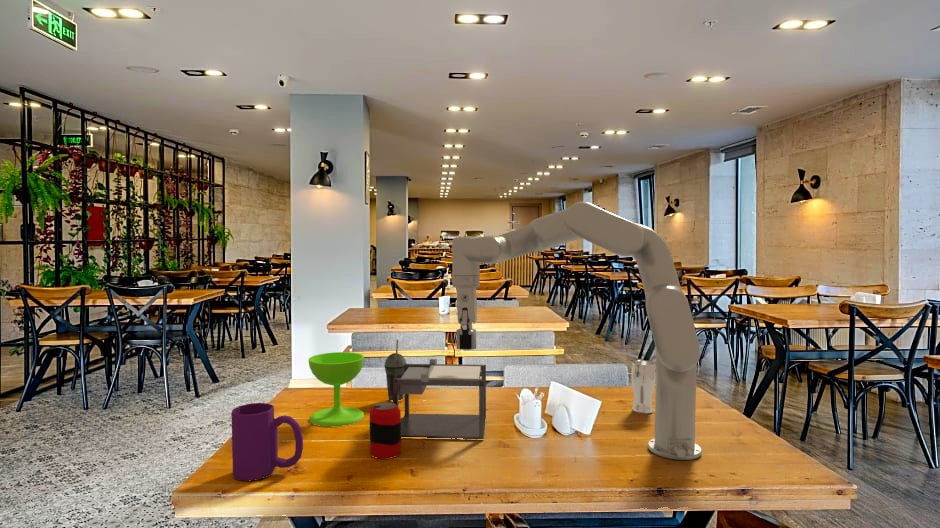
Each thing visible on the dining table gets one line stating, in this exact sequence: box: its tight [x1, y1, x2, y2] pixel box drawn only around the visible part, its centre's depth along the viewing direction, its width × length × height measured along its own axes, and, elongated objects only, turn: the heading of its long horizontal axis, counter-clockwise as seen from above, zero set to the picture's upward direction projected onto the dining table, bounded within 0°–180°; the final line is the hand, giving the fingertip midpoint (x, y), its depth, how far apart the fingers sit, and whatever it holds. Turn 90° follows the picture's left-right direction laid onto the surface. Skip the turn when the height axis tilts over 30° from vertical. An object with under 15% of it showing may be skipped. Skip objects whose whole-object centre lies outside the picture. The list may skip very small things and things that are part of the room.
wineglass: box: [308, 351, 365, 427], centre depth 165 cm, size 16×16×18 cm
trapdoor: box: [400, 364, 481, 395], centre depth 155 cm, size 15×21×5 cm
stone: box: [456, 328, 477, 351], centre depth 154 cm, size 6×6×5 cm
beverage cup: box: [383, 339, 407, 401], centre depth 182 cm, size 7×7×20 cm
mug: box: [230, 402, 304, 482], centre depth 126 cm, size 9×16×15 cm, turn 94°
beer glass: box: [630, 359, 656, 415], centre depth 171 cm, size 7×7×15 cm
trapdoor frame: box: [392, 358, 487, 440], centre depth 156 cm, size 18×24×18 cm
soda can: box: [369, 402, 402, 458], centre depth 138 cm, size 8×8×12 cm
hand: (466, 345), depth 154 cm, fingers closed on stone, 5 cm apart
